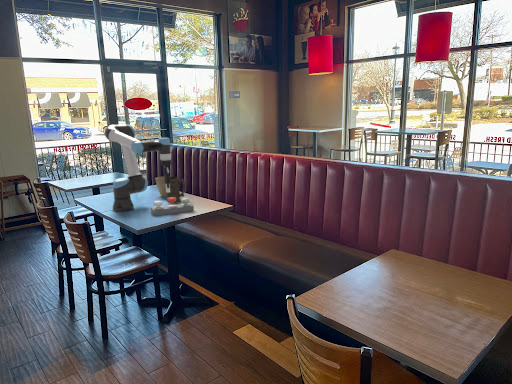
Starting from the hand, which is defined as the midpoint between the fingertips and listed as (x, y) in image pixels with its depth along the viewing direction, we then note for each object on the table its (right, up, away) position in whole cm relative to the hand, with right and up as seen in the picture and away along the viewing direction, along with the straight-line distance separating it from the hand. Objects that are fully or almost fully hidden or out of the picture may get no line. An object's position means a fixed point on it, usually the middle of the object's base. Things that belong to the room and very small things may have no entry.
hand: (168, 192), depth 269 cm
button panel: (+2, -14, +5) cm, 15 cm away
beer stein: (-3, -7, +41) cm, 42 cm away
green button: (+11, -9, +8) cm, 16 cm away
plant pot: (-17, -3, +61) cm, 63 cm away
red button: (+2, -8, +3) cm, 9 cm away
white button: (-7, -11, 0) cm, 13 cm away
